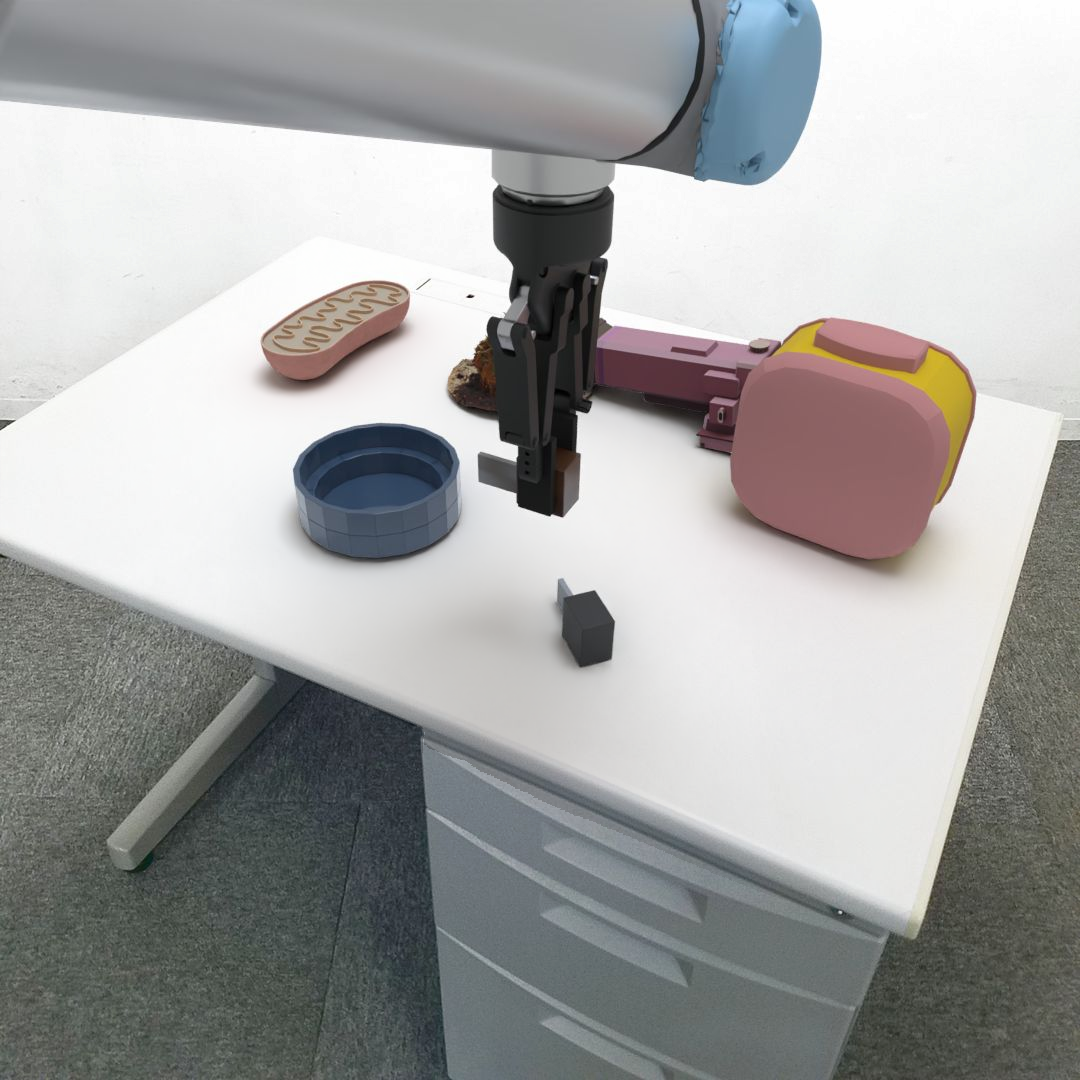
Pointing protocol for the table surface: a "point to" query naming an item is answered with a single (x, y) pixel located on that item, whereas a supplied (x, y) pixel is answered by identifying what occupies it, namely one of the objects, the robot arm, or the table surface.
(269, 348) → the anatomical model
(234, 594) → the table surface
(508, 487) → the blade walnut
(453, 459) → the bowl
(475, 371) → the cactus
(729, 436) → the electronic device
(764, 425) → the alarm clock
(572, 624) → the cube with grey tab
